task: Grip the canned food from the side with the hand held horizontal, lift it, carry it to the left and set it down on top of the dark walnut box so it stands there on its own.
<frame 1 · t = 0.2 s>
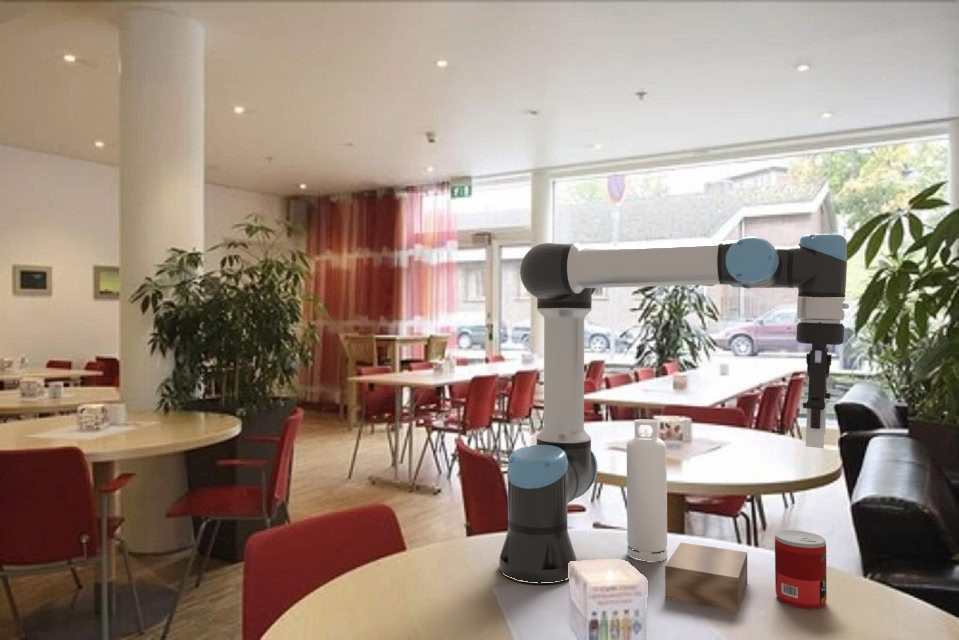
hand: (815, 440, 117), 27 cm above the table, tool pointing down, fingers open, 13 cm apart
canned food: (800, 601, 113), on the table
walnut box: (707, 592, 118), on the table
bottle: (647, 556, 136), on the table
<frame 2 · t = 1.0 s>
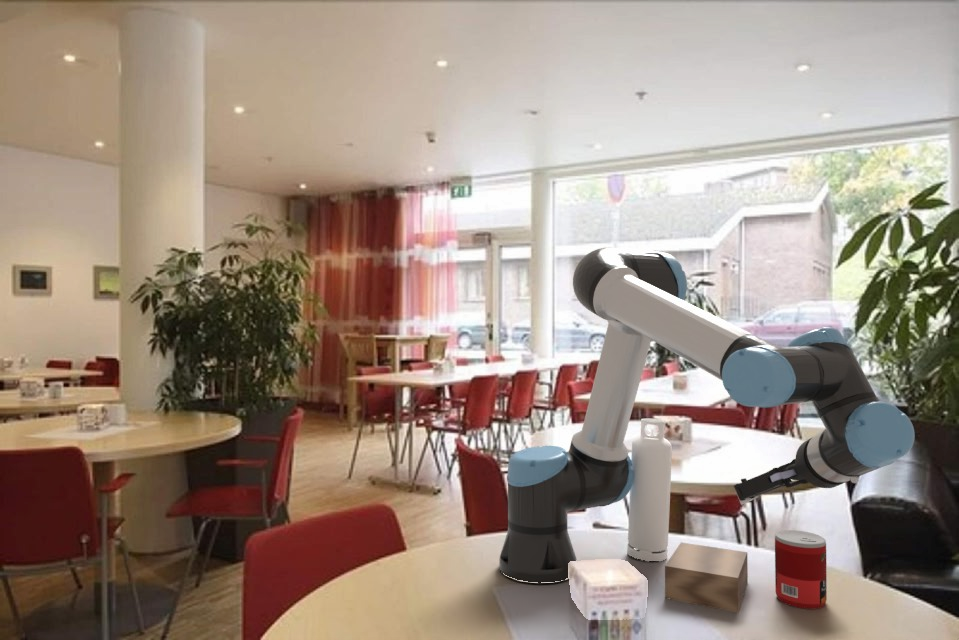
hand: (775, 486, 114), 19 cm above the table, tool tilted 65°, fingers open, 13 cm apart
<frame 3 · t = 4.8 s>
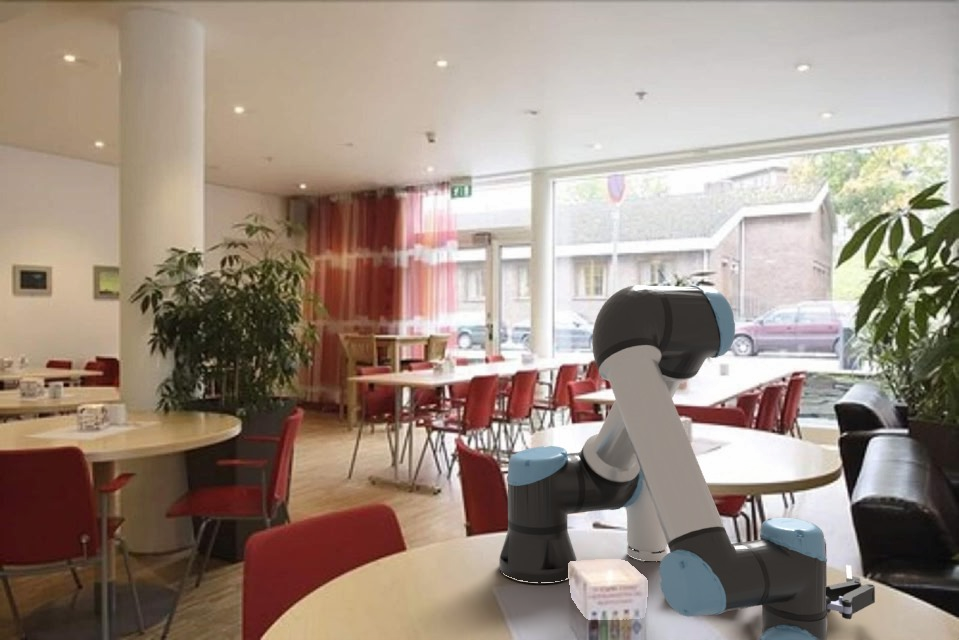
hand: (802, 566, 111), 6 cm above the table, tool horizontal, fingers open, 13 cm apart
walnut box: (706, 589, 119), on the table, touching gripper
bottle: (647, 556, 136), on the table, touching arm
everything else where it was.
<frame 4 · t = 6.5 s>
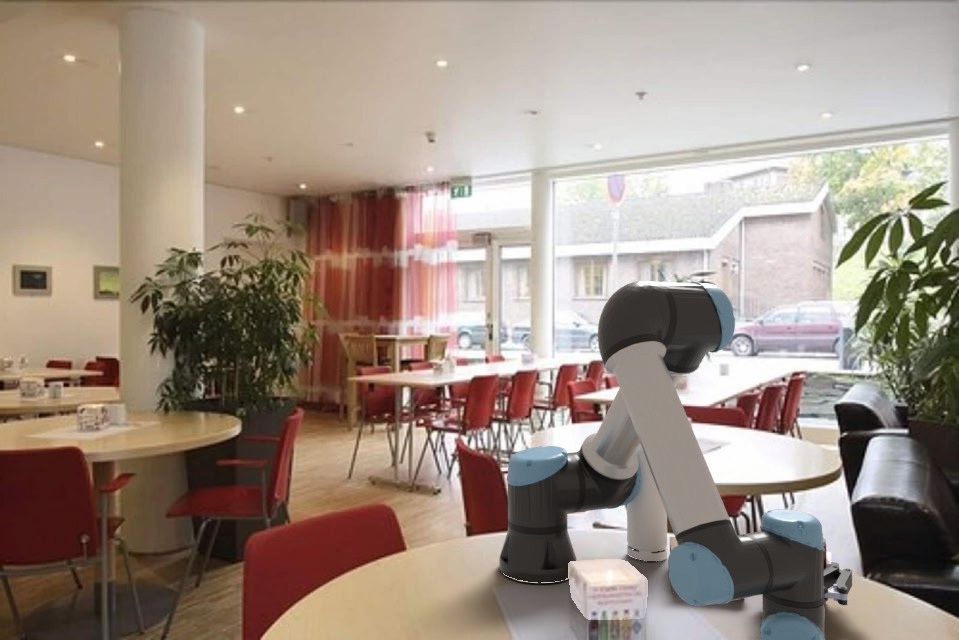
hand: (801, 555, 116), 7 cm above the table, tool horizontal, fingers closed on canned food, 8 cm apart
canned food: (800, 601, 113), on the table, touching gripper
walnut box: (704, 582, 122), on the table
everything else where it was.
when the fingers open (13 cm above the table, at t = 11.8 s): canned food moves 3 cm, resting on walnut box.
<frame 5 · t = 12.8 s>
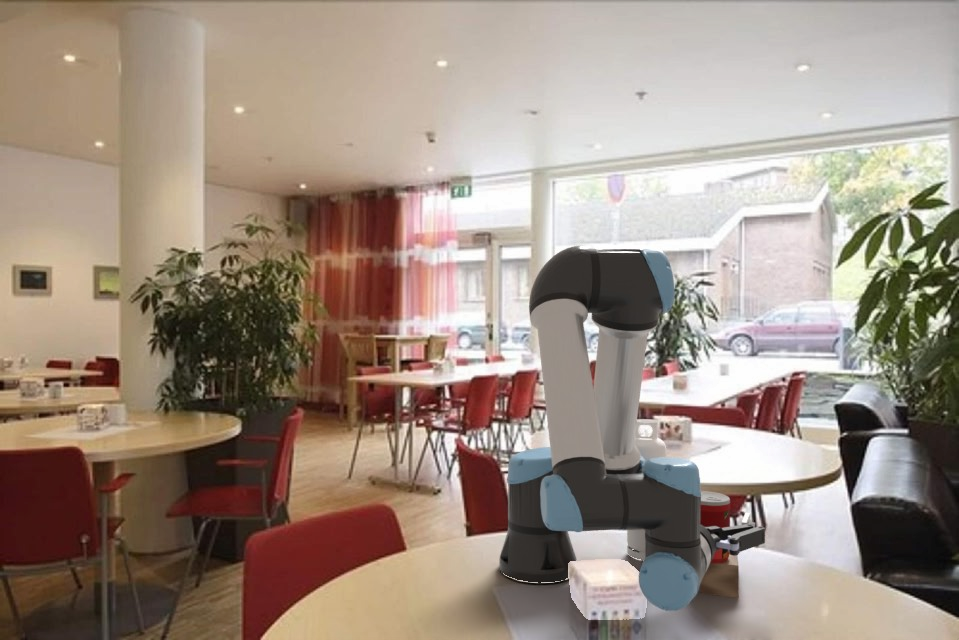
hand: (707, 515, 119), 13 cm above the table, tool horizontal, fingers open, 13 cm apart
canned food: (706, 557, 119), point 5 cm above the table, touching walnut box
walnut box: (703, 581, 123), on the table, touching canned food
bottle: (647, 556, 136), on the table
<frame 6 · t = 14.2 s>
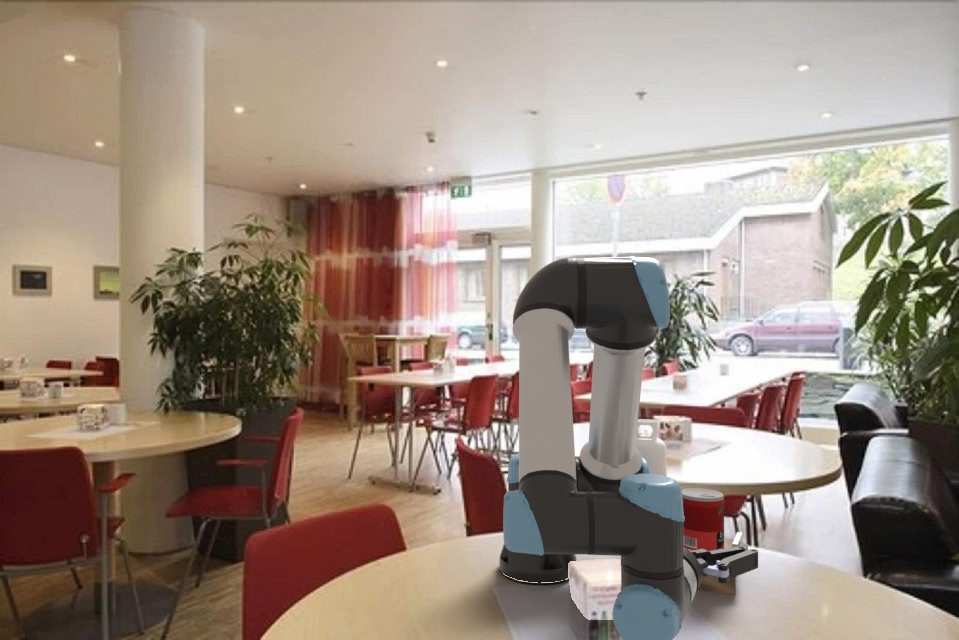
hand: (695, 534, 108), 13 cm above the table, tool horizontal, fingers open, 13 cm apart
canned food: (701, 552, 122), point 5 cm above the table, touching walnut box
walnut box: (701, 578, 124), on the table, touching canned food
everything else where it was.
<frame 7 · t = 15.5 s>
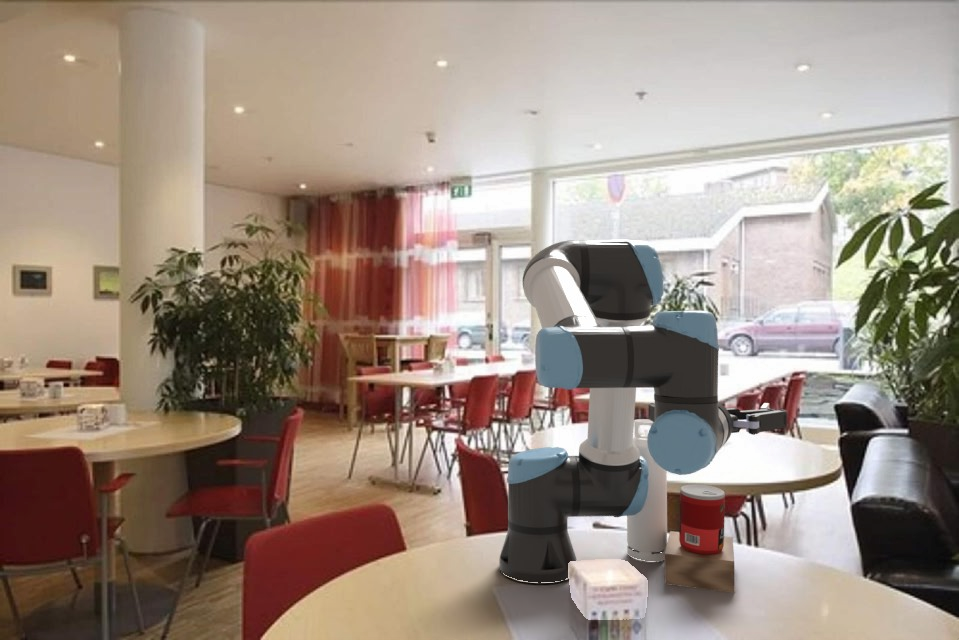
hand: (721, 409, 107), 34 cm above the table, tool horizontal, fingers open, 13 cm apart
canned food: (701, 548, 123), point 6 cm above the table, touching walnut box
everything else where it was.
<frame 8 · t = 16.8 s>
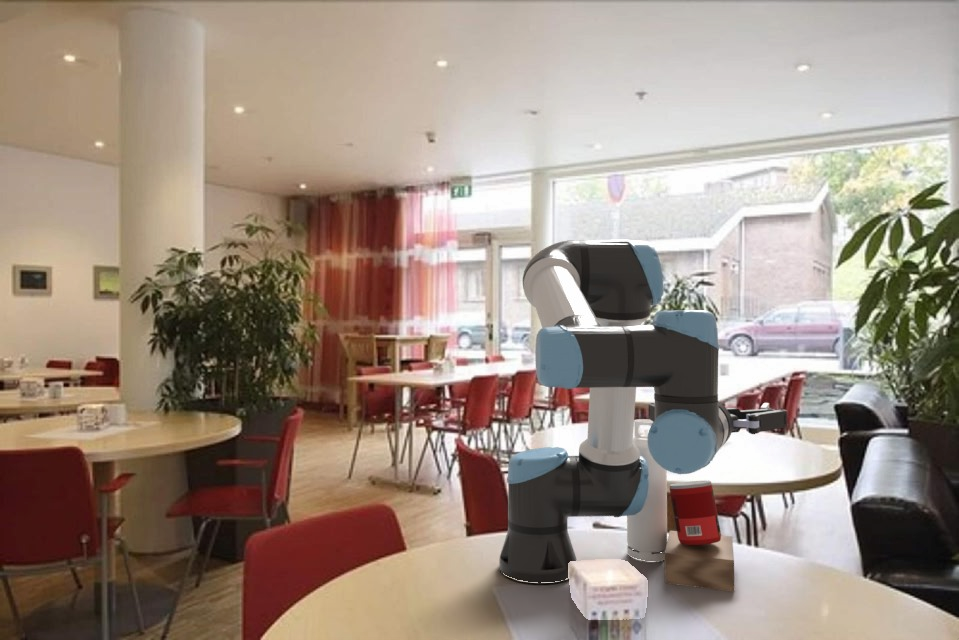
hand: (721, 409, 107), 34 cm above the table, tool horizontal, fingers open, 13 cm apart
canned food: (700, 542, 125), point 6 cm above the table, touching walnut box
at the end: canned food inside the target area on the walnut box (1.0 cm from its centre), point 6.7 cm above the walnut box's base; canned food tilted 13°; the gripper is holding nothing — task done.
